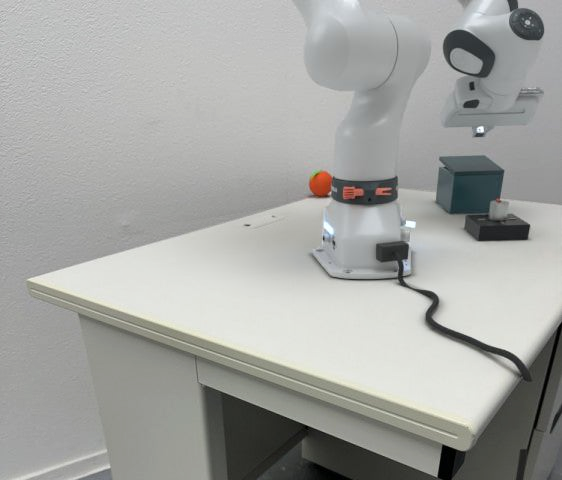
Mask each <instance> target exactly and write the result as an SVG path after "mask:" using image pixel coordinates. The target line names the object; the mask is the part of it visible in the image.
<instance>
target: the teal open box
mask: <svg viewBox="0 0 562 480" xmlns="http://www.w3.org/2000/svg"><path fill="white" fill-rule="evenodd" d="M504 177H505V173H504V174H486V175H453V174H452V173H451V172H450V171H449V170H448V169H447V168H446V167H445V166H439V167H438V174H437V182H436V183H437V184H436V194H435V203H436V204H438V205H439V206H440V207H441V208H443V210H445V211H446V212H447V213H448V214H450V215H458V214H489V209H490V202H491V201H495V200H496V199H500V200H501V195H502V189H503V182H504Z"/></svg>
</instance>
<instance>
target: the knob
mask: <svg viewBox="0 0 562 480" xmlns="http://www.w3.org/2000/svg"><path fill="white" fill-rule="evenodd" d="M509 206H510V202H509V201H507V200H502V199H501V198H500V199H496V200H495V201H491V202H490V209H489V213H488V214H489V215H488V219H489V220H491V221H505V220H506V219H507V214H509V213H508V212H509Z"/></svg>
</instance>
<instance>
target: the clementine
mask: <svg viewBox="0 0 562 480" xmlns="http://www.w3.org/2000/svg"><path fill="white" fill-rule="evenodd" d="M332 177H333V176H332V175H331V174H330V173H329V172H328V171H326V170H323V169H321V170H316V171H315V172H314V173H312V174H311V176H310V177H309V181H308V187H309V190H310V192H311V193H312V194H313V195H315V196H317V197H325V196H327V195H329V194H330V192H331V184H332Z"/></svg>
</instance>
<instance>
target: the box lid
mask: <svg viewBox="0 0 562 480" xmlns="http://www.w3.org/2000/svg"><path fill="white" fill-rule="evenodd" d="M438 160H439V162H440V163H441V164H442V165H443V166H444V167H446V168H447V169H448V170H449V171H450V172H451V173H452V174H453V175H486V174H504V175H505V169H503V168H502V167H501V166H500V165H498V164H497V163H495V162H494V161H493V160H492V159H490V157H488V156H487V155H485V154H482V155H481V154H480V155H479V154H478V155H452V156H451V155H448V156H447V155H446V156H445V155H444V156H439V157H438Z"/></svg>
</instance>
